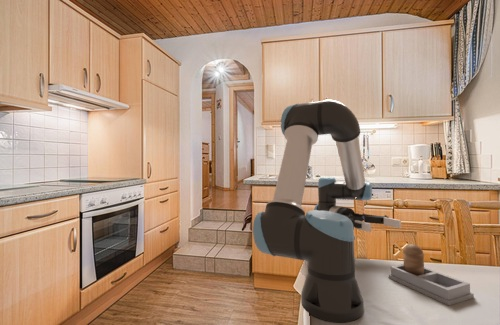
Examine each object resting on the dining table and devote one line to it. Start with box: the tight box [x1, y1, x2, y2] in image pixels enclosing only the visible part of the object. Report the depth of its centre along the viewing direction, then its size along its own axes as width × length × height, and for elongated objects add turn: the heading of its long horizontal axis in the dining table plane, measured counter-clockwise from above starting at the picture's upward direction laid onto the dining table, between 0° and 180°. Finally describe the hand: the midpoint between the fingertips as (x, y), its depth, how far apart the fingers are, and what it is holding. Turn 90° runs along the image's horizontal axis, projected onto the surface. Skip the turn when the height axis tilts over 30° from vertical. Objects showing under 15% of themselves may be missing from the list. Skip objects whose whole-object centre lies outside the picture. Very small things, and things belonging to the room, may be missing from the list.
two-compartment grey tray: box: [388, 263, 475, 306], centre depth 75 cm, size 18×10×4 cm, turn 21°
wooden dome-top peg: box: [402, 243, 425, 276], centre depth 79 cm, size 5×5×10 cm
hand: (385, 226), depth 88 cm, fingers open, 13 cm apart
